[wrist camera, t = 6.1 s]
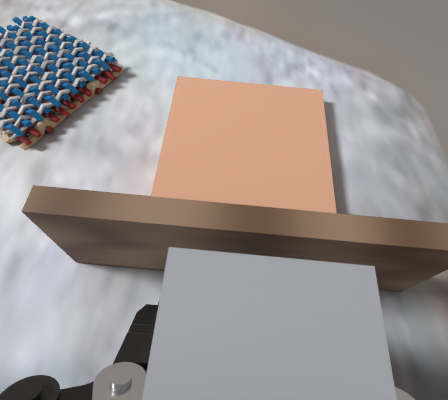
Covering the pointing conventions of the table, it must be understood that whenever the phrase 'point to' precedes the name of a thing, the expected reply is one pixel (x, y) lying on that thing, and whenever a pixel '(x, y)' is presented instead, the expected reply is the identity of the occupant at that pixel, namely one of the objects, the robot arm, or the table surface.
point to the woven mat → (46, 78)
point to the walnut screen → (233, 233)
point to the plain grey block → (267, 330)
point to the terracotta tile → (246, 146)
